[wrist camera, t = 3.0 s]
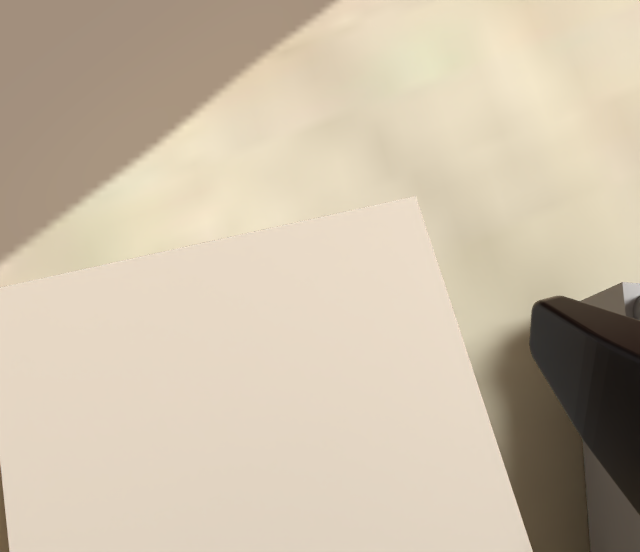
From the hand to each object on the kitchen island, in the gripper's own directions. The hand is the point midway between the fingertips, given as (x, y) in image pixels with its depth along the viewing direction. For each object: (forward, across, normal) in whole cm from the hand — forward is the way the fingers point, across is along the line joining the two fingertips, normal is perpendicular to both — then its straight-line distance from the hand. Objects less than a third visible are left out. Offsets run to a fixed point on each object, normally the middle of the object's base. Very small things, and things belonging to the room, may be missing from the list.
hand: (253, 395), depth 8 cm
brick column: (+4, 0, +6) cm, 7 cm away
